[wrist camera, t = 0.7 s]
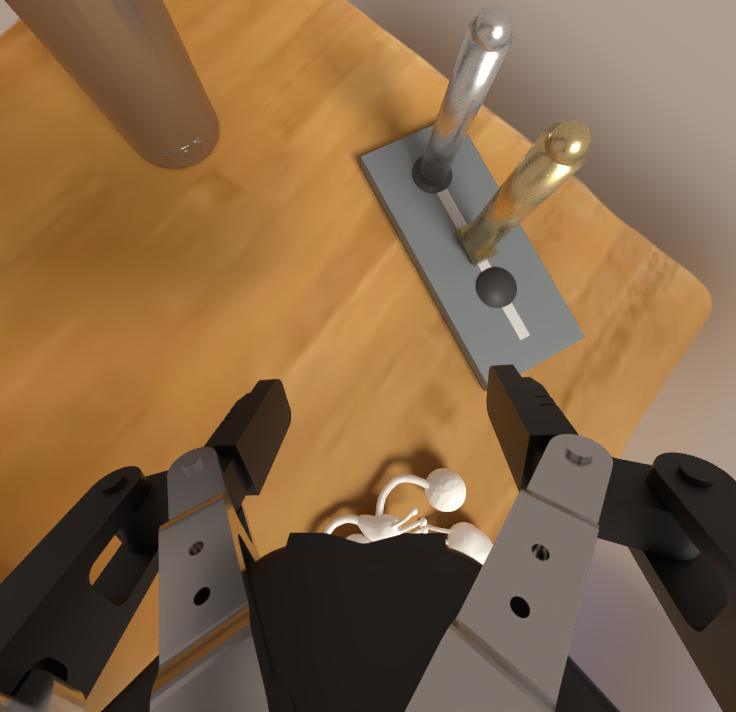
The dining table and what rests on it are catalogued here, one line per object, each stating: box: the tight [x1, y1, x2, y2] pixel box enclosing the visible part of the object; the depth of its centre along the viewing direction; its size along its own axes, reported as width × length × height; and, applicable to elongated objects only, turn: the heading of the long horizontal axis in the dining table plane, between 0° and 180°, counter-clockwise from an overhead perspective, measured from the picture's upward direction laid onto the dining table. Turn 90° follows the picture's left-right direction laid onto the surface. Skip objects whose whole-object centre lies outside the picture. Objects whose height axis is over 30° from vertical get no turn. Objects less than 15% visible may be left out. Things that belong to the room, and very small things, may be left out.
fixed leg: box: [419, 4, 512, 187], centre depth 25 cm, size 3×3×14 cm
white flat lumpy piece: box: [323, 468, 493, 565], centre depth 28 cm, size 19×14×4 cm
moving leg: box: [456, 120, 591, 266], centre depth 25 cm, size 4×3×14 cm
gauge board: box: [360, 125, 585, 391], centre depth 33 cm, size 28×12×2 cm, turn 28°
